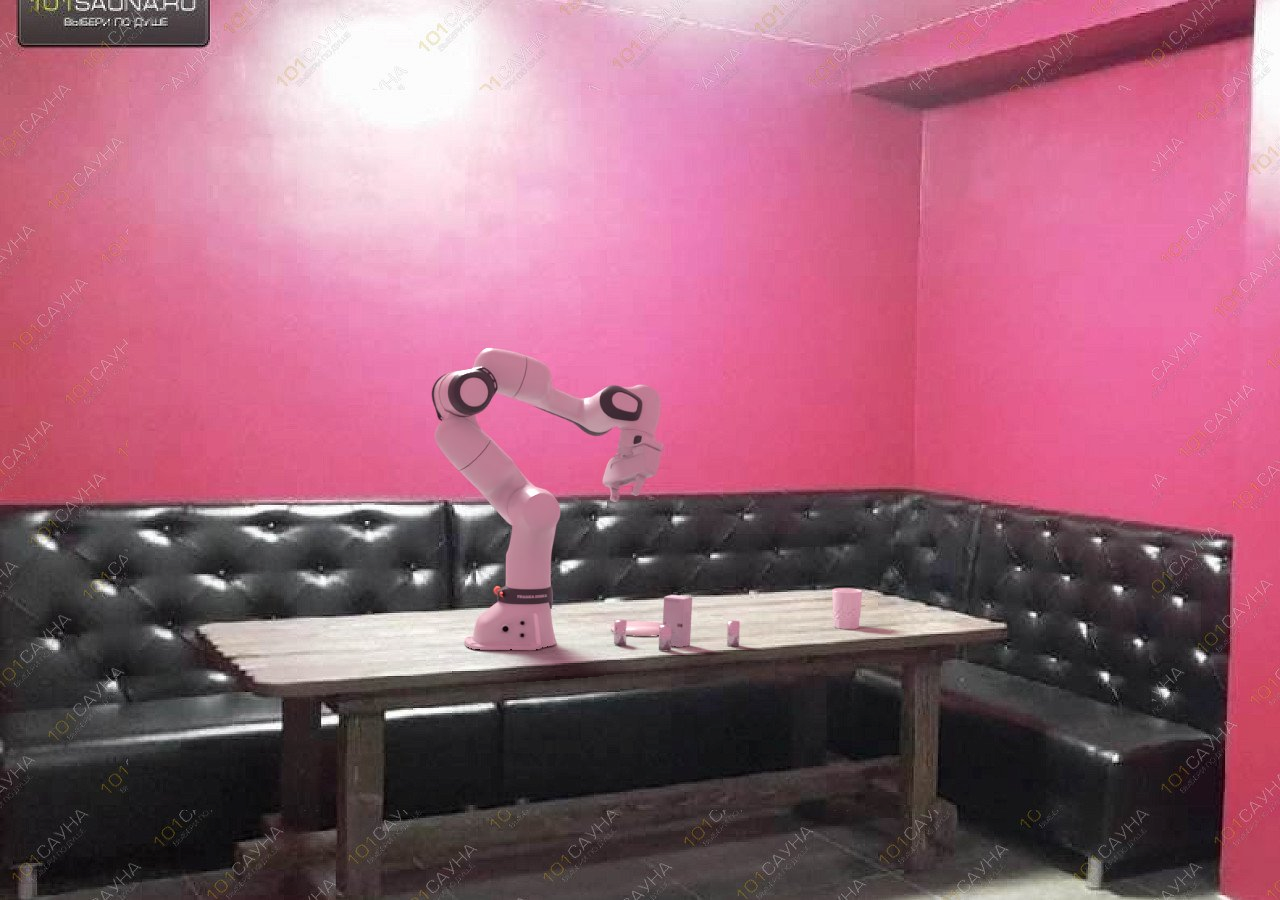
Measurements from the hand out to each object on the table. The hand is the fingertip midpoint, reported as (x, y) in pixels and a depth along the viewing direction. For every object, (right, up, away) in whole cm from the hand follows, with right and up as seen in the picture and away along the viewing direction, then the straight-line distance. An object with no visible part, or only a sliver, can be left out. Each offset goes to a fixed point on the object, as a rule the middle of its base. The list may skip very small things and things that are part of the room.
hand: (624, 497), depth 341 cm
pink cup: (+59, -36, +27) cm, 74 cm away
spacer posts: (+13, -36, -3) cm, 39 cm away
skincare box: (+13, -37, -2) cm, 39 cm away
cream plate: (+4, -35, +16) cm, 39 cm away
